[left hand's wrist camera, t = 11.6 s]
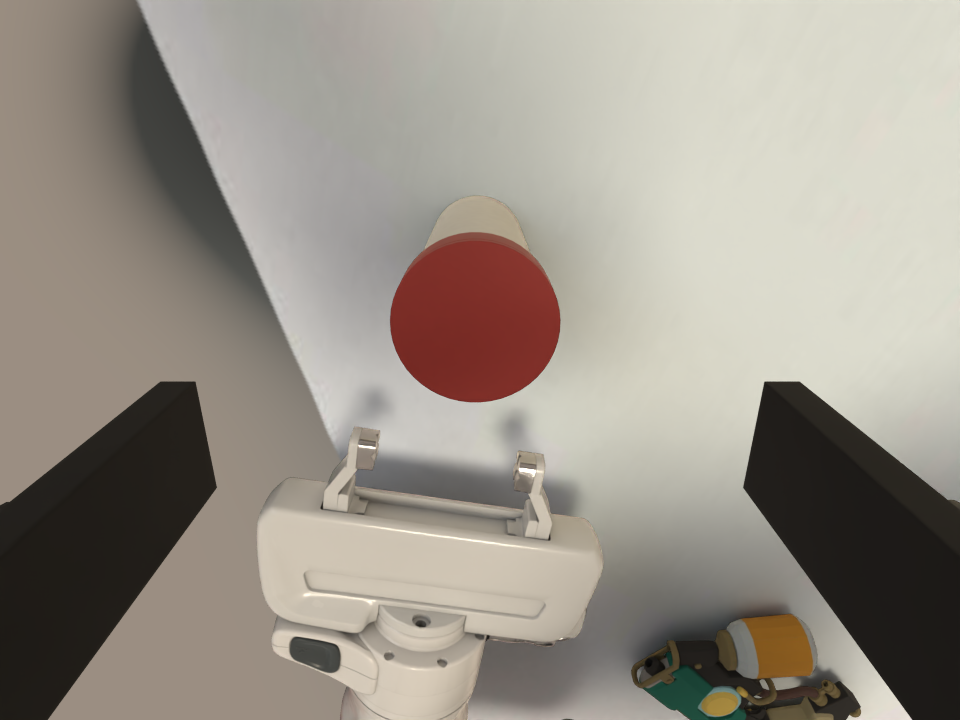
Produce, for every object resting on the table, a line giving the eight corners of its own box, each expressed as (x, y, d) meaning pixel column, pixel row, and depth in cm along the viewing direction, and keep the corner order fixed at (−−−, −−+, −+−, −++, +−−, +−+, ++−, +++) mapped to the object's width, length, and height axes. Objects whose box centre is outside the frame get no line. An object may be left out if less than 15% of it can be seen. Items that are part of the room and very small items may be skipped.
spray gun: (851, 699, 50) (685, 748, 53) (802, 575, 44) (617, 639, 47) (882, 751, 46) (701, 800, 49) (833, 623, 40) (629, 689, 43)
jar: (418, 261, 35) (376, 354, 21) (456, 179, 33) (438, 218, 19) (496, 299, 36) (507, 412, 22) (538, 221, 34) (579, 289, 20)
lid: (372, 344, 22) (363, 361, 21) (436, 202, 20) (433, 209, 19) (509, 405, 23) (511, 426, 22) (583, 276, 21) (592, 288, 20)
